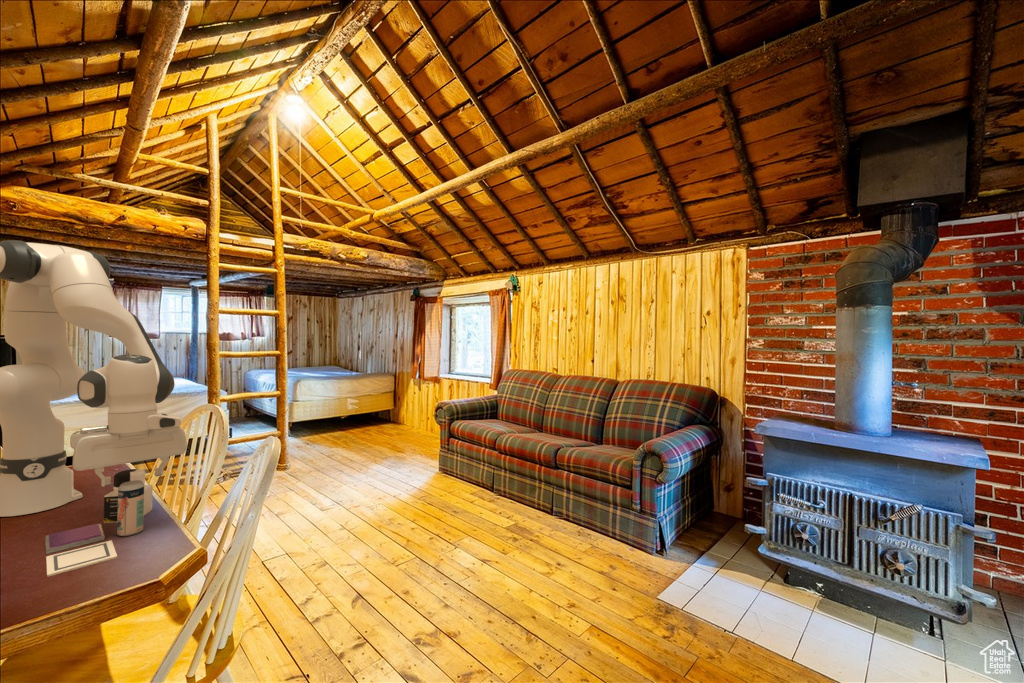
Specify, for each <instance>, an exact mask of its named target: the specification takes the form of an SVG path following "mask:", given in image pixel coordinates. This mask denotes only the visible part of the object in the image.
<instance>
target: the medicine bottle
mask: <svg viewBox="0 0 1024 683" xmlns="http://www.w3.org/2000/svg"><path fill="white" fill-rule="evenodd" d="M136 480H140V481H142V482H143V483H144V512H143V517H144V516H146V515H147V514H148V513H150V512H151V511H152V510H153V487H154V486H153V484H146V471H145V470H144V469H140V468H132V469H130V468H129V469H125V470H121V471H119V472H117V473H115V474H114V475H113V487H112V488H113V491H110V492H109V493H107V494H105V495H104V496H103V524H115V523H117V516H118V488H119V487H120V485H121V484H122V483H125V482H129V481H136Z"/></svg>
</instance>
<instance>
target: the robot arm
mask: <svg viewBox="0 0 1024 683" xmlns="http://www.w3.org/2000/svg"><path fill="white" fill-rule="evenodd" d="M110 277H111V265H110V263H109V261H108V259H107V258H106V257H105V256H104V255H101V254H100V253H97V252H94V251H91V250H84V249H83V250H82V249H79V248H74V247H70V246H66V245H59V244H48V243H41V242H40V243H38V242H26V241H23V240H15V239H13V240H9V239H7V240H1V241H0V279H1V280H4V281H8V282H9V283H8V287H7V290H6V296H5V302H4V339H5V343H7V344H8V345H10V347H12V348H14V350H15V351H16V353H18V355H19V357H20V360H21V364H10V365H5V366H4V365H3V366H1V367H0V427H1V432H2V433H1V434H2V457H0V517H3V518H4V517H16V516H23V515H29V514H34V513H39V512H43V511H48V510H52V509H55V508H58V507H62V506H63V505H66V504H68V503H69V502H73V501H77V500H78V499H82V498H83V497H84V496H83V493H82V492H81V491H79V490H77V489H75V488H74V485H75V484H74V470H75V471H77V472H83V471H88V470H94V474H96V476H98V478H99V479H100V480H101V481H100V482H101V484H100V485H101V487H102V488H103V487H108V486H111V485H112V481H111V480H112V478H111V476H110V475H109V476H105V475H104V474H103V473H104V472H105V467H112V466H117V465H118V466H119V465H125V464H130V463H138V462H143V461H149V460H154V459H160V461H161V462H160V465H159V466H158V467H154V476H155V477H160V476H164V469H165V467H166V466H167V464H169V462H170V457H173V456H179V455H184V454H185V452H186V451H187V449H188V445H187V444H188V443H187V437H186V432H185V430H184V429H183V428H182V427H181V423H182V420H181V418H180V417H179V416H177V415H173V414H167V413H159V412H158V405H157V404H161V403H162V402H164V401H165V400H167V398H168V397H169V396H170V395H171V394H172V392H173V391H174V389H175V379H174V376H173V374H172V373H171V371H170V370H169V368H167V366H166V365H165V364H164V362H163V361H162V359H161V358H160V356H159V354H158V352H157V350H156V348H155V346H154V344H153V343H152V341H151V339H150V337H149V335H148V333H147V331H146V329H145V328H144V326H143V323H141V321H140V319H139V318H138V317H137V316H136V315H135V314H134V313H132V312H130V311H129V310H128V309H127V308H125V307H124V305H122V304H121V303H120V301H119V300H118V299H117V297H116V295H115V294H114V289H113V287H112V284H111V282H110V280H109V279H110ZM67 323H69V324H71V325H73V326H75V327H78V328H81V329H84V330H88V331H89V330H90V331H93V332H97V333H100V334H104V335H106V336H109V337H112V338H114V339H116V340H117V341H120V342H121V343H122V345H123V346H124V347H125V349H126V351H127V352H128V354H121V355H120V354H119V355H116V356H113V357H111V358H110V360H109V362H108V364H105V365H104V366H102V367H99V368H97V369H93V370H89V371H87V372H86V371H85V370H84V369H83V368H82V367H80V366H79V365H78V364H77V363H76V361H75V360H74V358H73V355H72V353H71V351H70V347H69V344H68V339H67ZM76 394H77V398H78V400H79V401H80V402H81V403H82V404H84V405H86V406H87V407H89V408H95V409H97V408H98V409H104V408H108V410H107V425H100V426H95V427H84V428H80V429H79V430H77V431H75V432H74V433H72V434H71V435H70V438H69V439H70V447H71V448H72V449H73V454H72V455H73V456H72V461H71V462H72V469H71V468H70V467H68V466H67V465H66V463H67V450H65V428H66V427H65V423H64V422H63V421H62V420H61V419H59V418H57V417H56V416H55V415H54V412H53V411H52V407H51V404H50V403H51V402H55V401H56V402H57V401H60V400H65V399H67V398H70V397H72V396H75V395H76Z"/></svg>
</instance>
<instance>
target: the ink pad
mask: <svg viewBox="0 0 1024 683" xmlns="http://www.w3.org/2000/svg"><path fill="white" fill-rule="evenodd" d="M101 541H105V533H104V531H103V526H102V524H101V523H95V524H91V525H85V526H81V527H77V528H73V529H69V530H63V531H59V532H58V531H57V532H55V533H54V532H53V533H49V534H48V535H45V555H48V554H52V553H56V552H61V551H64V550H70V549H73V548H77V547H82V546H85V545H89V544H92V543H93V544H95V543H97V542H101Z"/></svg>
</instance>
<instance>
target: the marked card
mask: <svg viewBox="0 0 1024 683" xmlns="http://www.w3.org/2000/svg"><path fill="white" fill-rule="evenodd" d="M117 558H118V554H117V551H116V548H115V545H114V543H113V540H107V541H104V542H99V543H94V544H92V545H88V546H84V547H80V548H75V549H72V550H67V551H63V552H59V553H54V554H51V555H47V556H45V560H46V577H49V578H50V577H51V576H55V575H60V574H62V573H67V572H70V571H74V570H77V569H81V568H85V567H88V566H92V565H95V564H99V563H100V564H101V563H103V562H107V561H111V560H115V559H117Z"/></svg>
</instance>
